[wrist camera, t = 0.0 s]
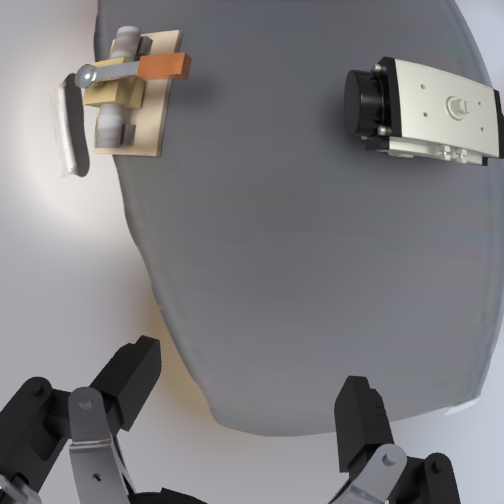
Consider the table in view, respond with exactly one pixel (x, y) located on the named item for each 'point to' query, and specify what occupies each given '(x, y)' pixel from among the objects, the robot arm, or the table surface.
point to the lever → (137, 70)
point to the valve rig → (132, 97)
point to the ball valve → (424, 113)
